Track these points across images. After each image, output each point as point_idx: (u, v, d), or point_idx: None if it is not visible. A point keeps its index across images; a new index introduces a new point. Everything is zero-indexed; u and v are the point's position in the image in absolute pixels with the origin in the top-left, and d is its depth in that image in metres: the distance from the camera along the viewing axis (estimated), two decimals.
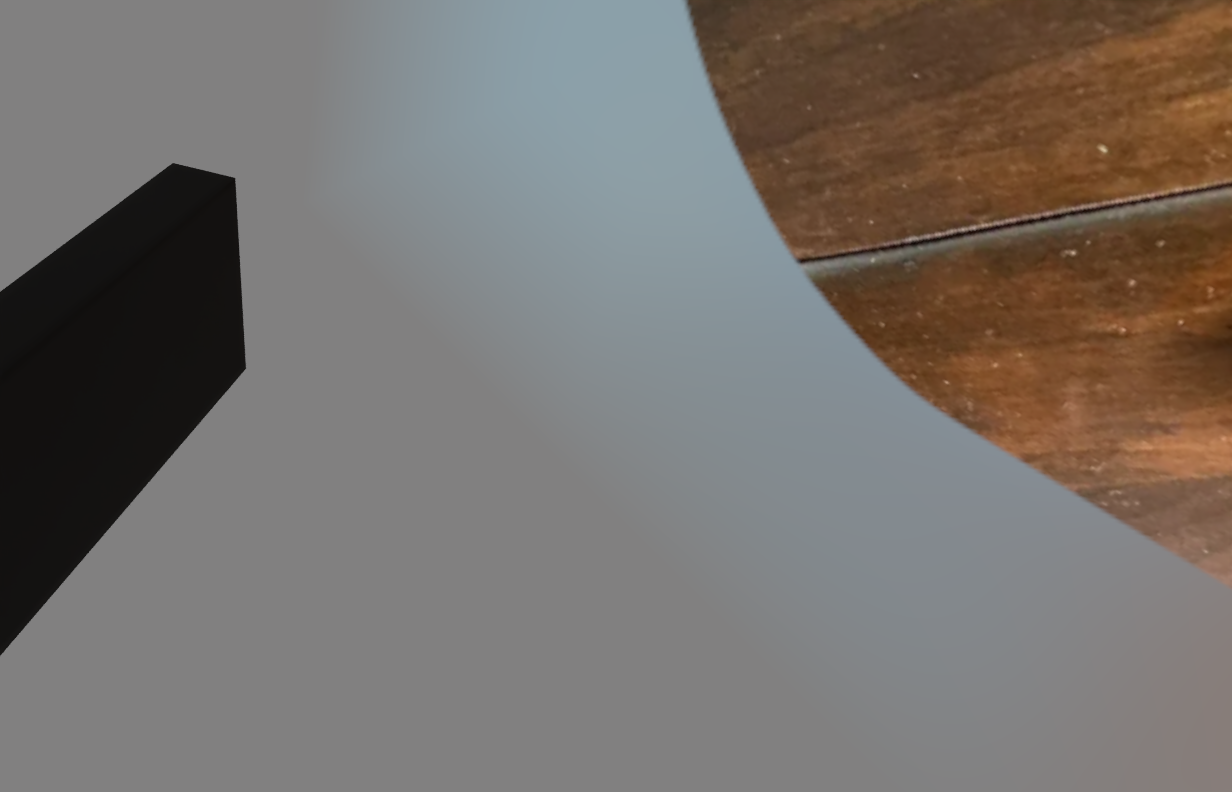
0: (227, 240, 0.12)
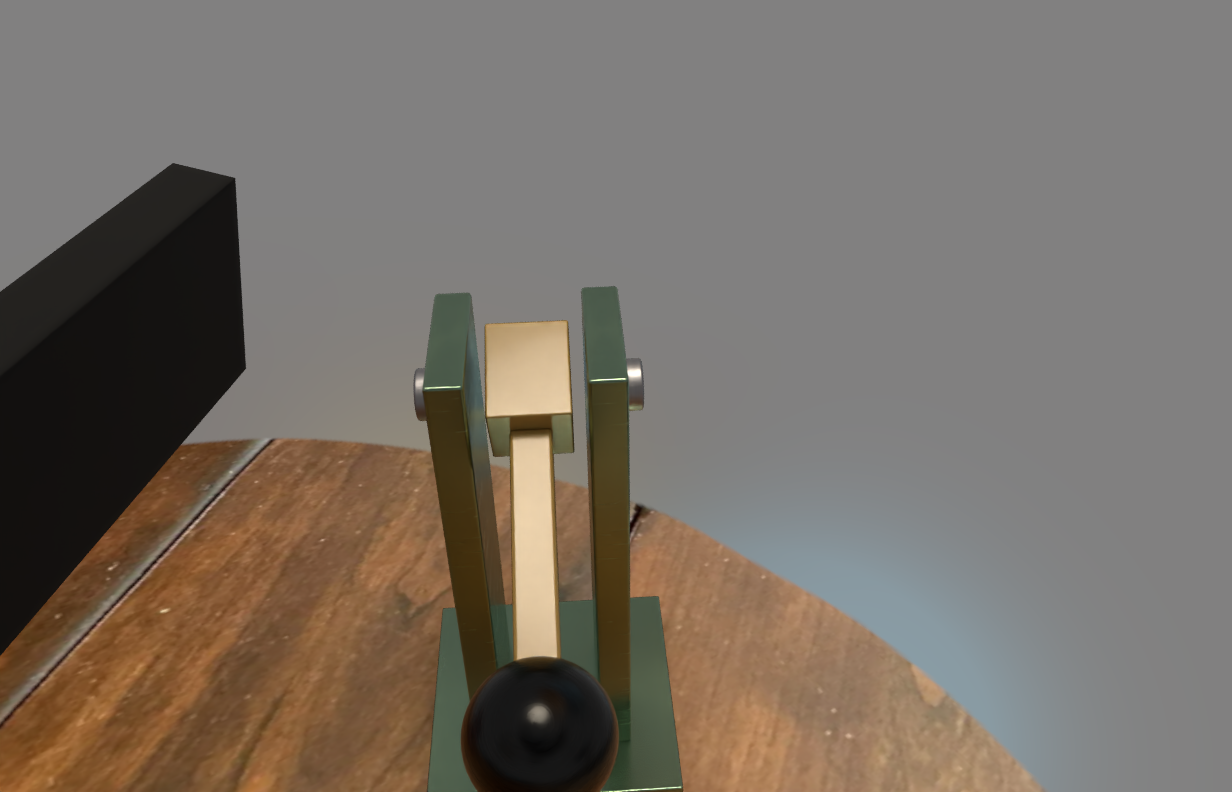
0: (226, 241, 0.12)
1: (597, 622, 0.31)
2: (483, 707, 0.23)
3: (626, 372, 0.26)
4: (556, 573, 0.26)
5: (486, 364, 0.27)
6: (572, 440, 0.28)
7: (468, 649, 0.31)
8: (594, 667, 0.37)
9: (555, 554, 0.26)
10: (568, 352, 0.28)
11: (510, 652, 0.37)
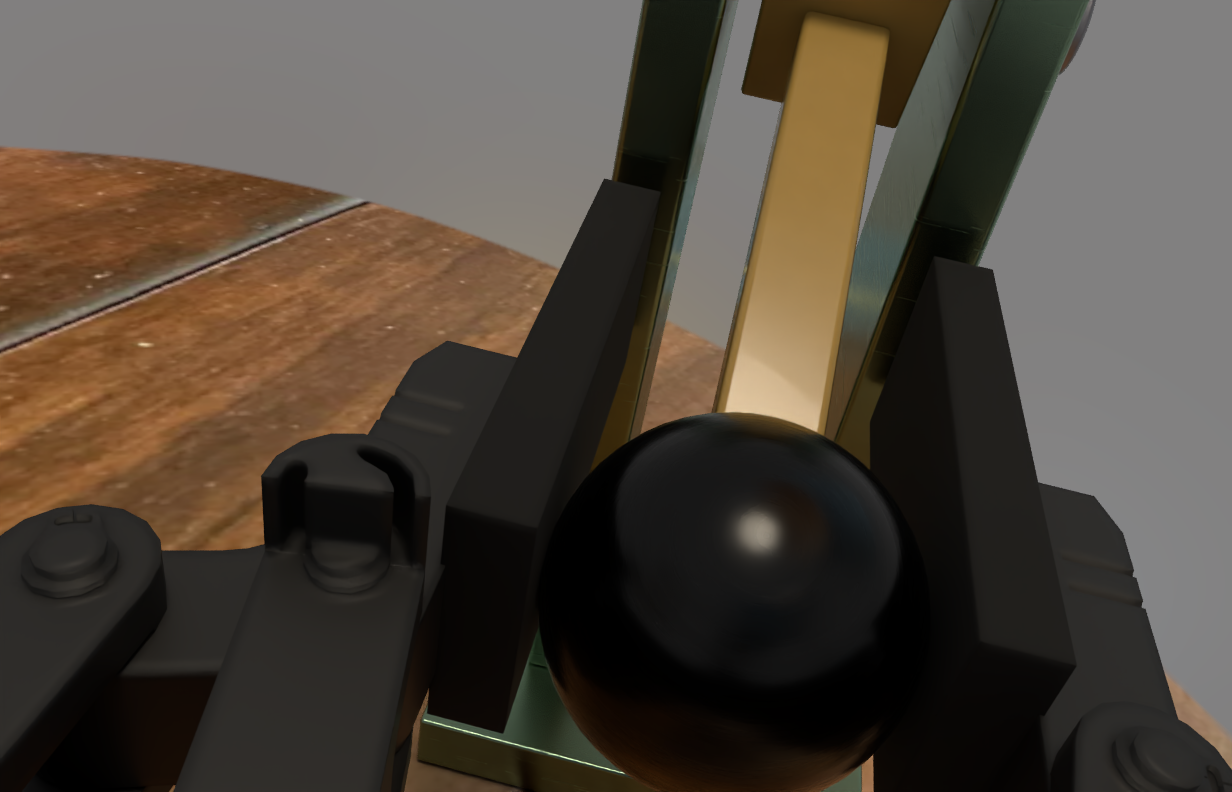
0: (648, 247, 0.14)
1: None
2: (631, 474, 0.09)
3: None
4: (849, 276, 0.11)
5: None
6: (912, 86, 0.14)
7: None
8: None
9: (854, 241, 0.12)
10: None
11: None
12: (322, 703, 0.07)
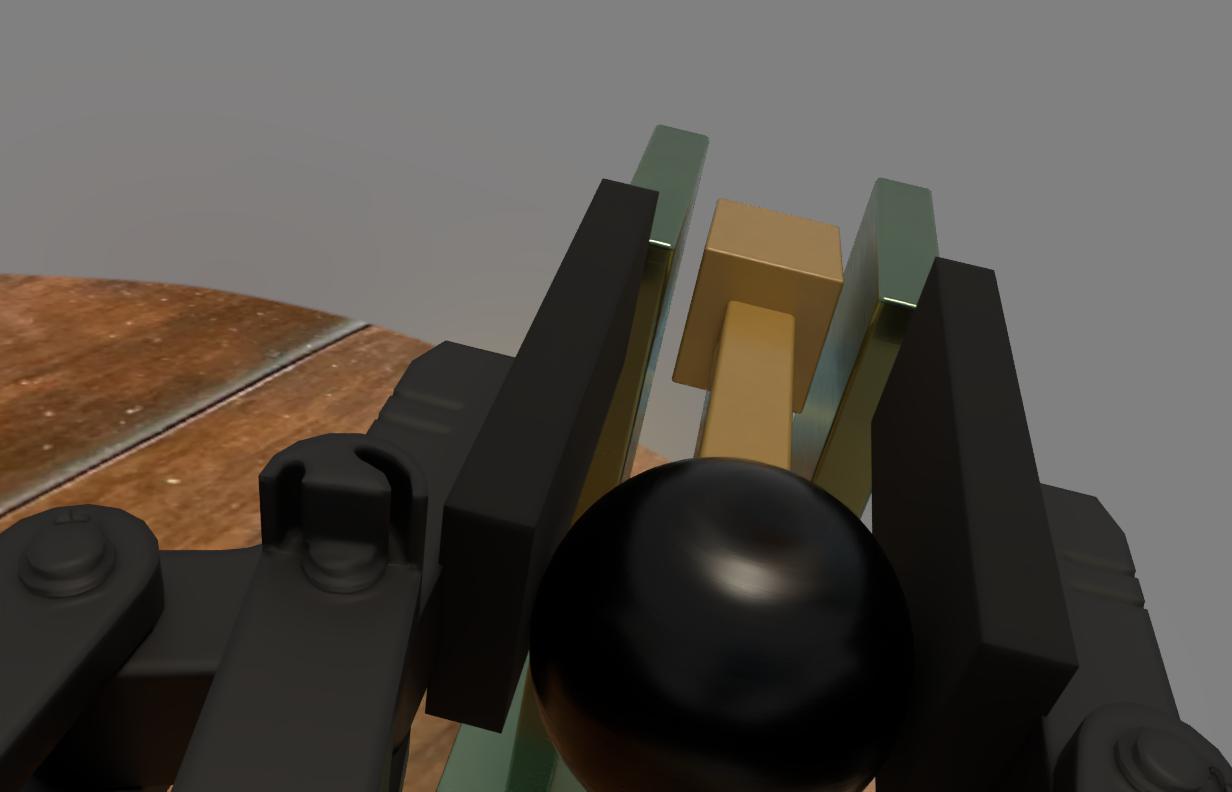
0: (646, 247, 0.14)
1: None
2: (632, 481, 0.10)
3: None
4: (790, 435, 0.13)
5: (715, 218, 0.18)
6: (813, 371, 0.17)
7: None
8: None
9: (790, 417, 0.14)
10: (839, 244, 0.18)
11: None
12: (320, 703, 0.07)
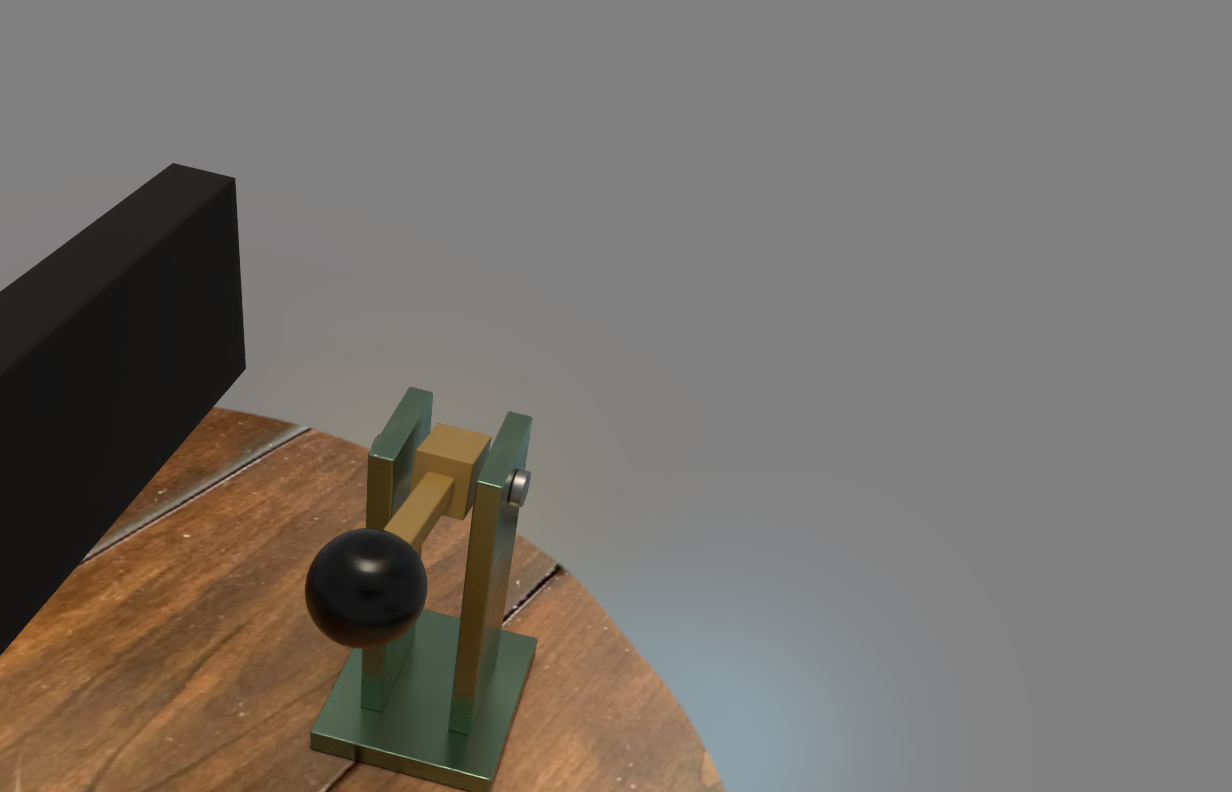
0: (227, 240, 0.12)
1: (458, 642, 0.43)
2: (340, 535, 0.32)
3: (503, 482, 0.38)
4: (422, 525, 0.35)
5: (429, 434, 0.40)
6: (465, 501, 0.39)
7: None
8: None
9: (426, 518, 0.36)
10: (484, 445, 0.40)
11: (412, 645, 0.50)
12: None
